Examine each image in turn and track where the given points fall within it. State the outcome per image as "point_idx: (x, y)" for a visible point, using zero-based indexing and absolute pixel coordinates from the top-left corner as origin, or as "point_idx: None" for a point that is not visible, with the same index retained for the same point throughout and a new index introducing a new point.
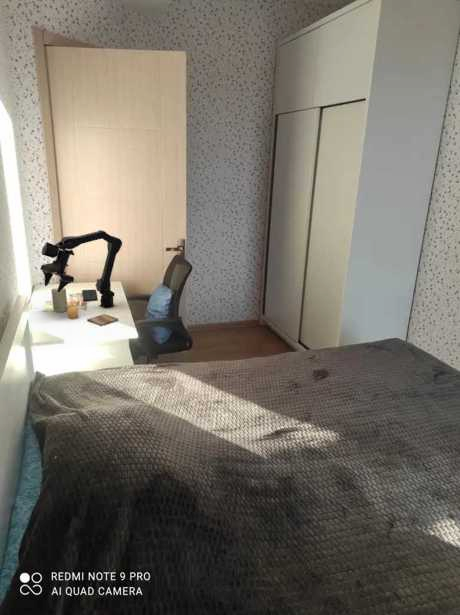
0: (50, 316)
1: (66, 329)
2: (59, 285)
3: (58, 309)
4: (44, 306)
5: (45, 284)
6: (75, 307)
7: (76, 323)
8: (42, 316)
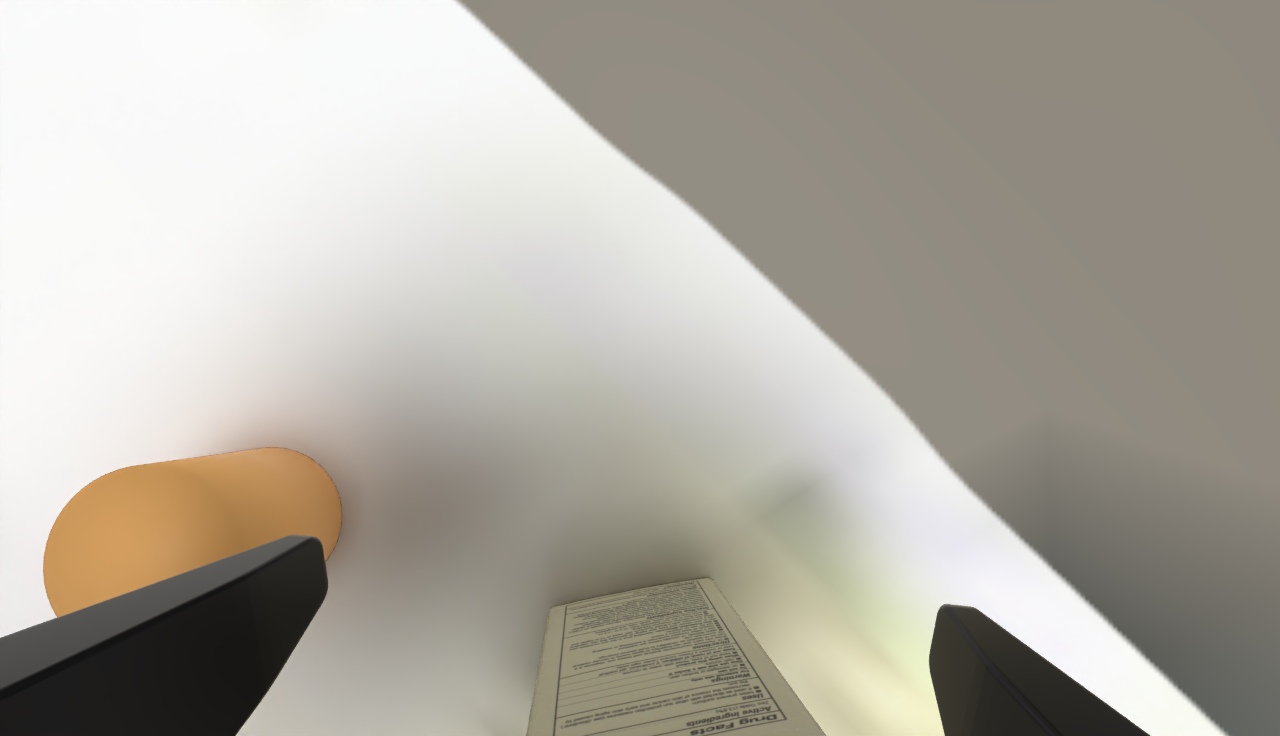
0: (576, 381)
1: (21, 110)
2: (9, 669)
3: (626, 601)
4: None
5: (962, 630)
6: (55, 549)
7: (56, 351)
8: (668, 325)
